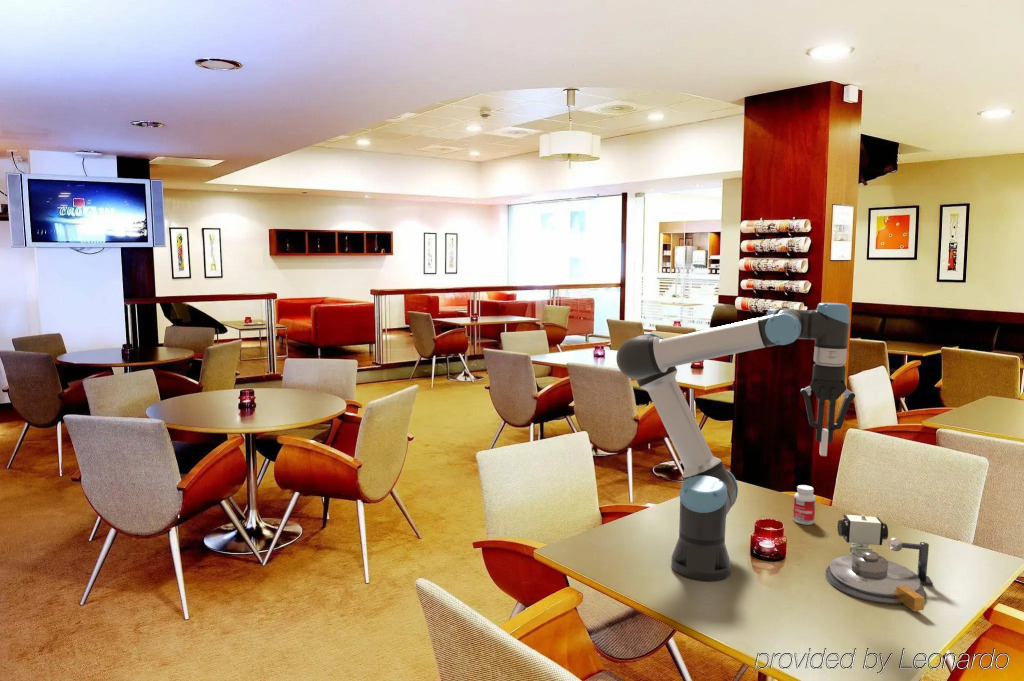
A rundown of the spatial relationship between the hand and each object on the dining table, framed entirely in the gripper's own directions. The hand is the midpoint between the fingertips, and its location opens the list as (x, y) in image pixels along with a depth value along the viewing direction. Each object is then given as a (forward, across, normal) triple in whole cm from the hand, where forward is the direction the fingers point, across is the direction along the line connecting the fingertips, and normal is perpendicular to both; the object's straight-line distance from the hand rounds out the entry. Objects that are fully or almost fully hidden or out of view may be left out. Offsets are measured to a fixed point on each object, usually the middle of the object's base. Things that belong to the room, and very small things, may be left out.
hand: (822, 454), depth 178 cm
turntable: (+30, +15, -6) cm, 34 cm away
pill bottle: (+32, 0, +36) cm, 48 cm away
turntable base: (+31, +13, -4) cm, 34 cm away
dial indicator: (+31, +22, +2) cm, 38 cm away
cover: (+28, +12, -4) cm, 31 cm away
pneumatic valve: (+31, +13, +13) cm, 36 cm away
